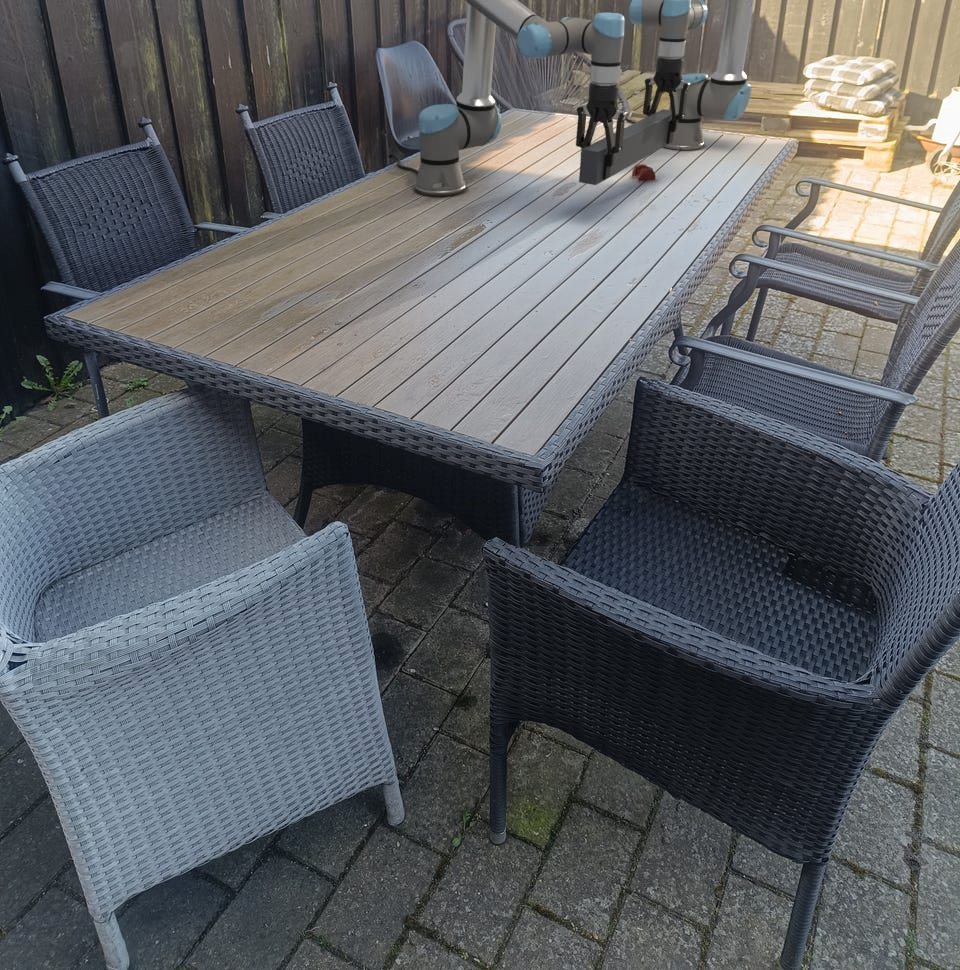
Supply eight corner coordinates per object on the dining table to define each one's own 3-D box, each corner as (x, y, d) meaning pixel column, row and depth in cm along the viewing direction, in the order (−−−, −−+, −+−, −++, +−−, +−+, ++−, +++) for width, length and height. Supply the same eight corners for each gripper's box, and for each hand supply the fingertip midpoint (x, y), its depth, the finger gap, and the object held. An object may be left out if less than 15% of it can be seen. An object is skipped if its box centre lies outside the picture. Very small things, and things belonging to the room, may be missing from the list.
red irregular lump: (647, 160, 269) (657, 167, 263) (646, 174, 272) (656, 181, 265) (631, 162, 268) (641, 169, 262) (630, 176, 271) (640, 183, 264)
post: (595, 185, 223) (598, 151, 218) (578, 182, 225) (581, 149, 220) (674, 140, 259) (678, 111, 254) (659, 138, 261) (662, 109, 256)
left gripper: (643, 84, 212) (633, 178, 226) (578, 76, 220) (572, 168, 234) (631, 89, 207) (621, 185, 221) (565, 81, 215) (560, 174, 229)
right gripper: (705, 57, 241) (693, 142, 255) (646, 52, 249) (637, 134, 263) (695, 62, 236) (684, 148, 250) (636, 56, 244) (628, 140, 258)
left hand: (596, 176), depth 227 cm, fingers closed on post, 5 cm apart
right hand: (660, 141), depth 256 cm, fingers closed on post, 5 cm apart
